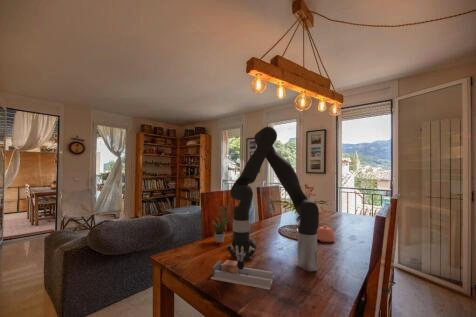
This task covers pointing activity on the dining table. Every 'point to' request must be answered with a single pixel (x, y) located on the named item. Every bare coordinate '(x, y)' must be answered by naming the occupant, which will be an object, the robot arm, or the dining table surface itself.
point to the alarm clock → (252, 244)
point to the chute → (244, 276)
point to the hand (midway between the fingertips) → (240, 268)
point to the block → (230, 266)
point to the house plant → (219, 231)
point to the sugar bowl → (325, 234)
